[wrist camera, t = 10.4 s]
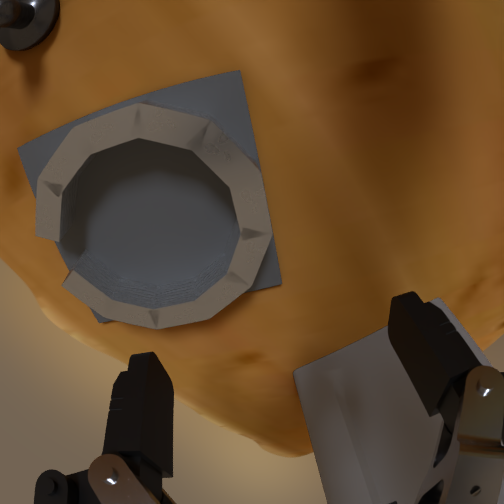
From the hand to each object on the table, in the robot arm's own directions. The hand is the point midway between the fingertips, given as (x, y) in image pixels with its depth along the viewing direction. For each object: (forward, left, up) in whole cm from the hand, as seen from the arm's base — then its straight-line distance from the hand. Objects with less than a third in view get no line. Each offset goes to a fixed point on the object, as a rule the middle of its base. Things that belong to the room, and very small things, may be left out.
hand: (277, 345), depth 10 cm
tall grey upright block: (+26, +12, -15) cm, 33 cm away
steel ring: (0, -7, -14) cm, 16 cm away
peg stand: (-18, -12, -15) cm, 26 cm away
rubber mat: (0, -7, -15) cm, 16 cm away
